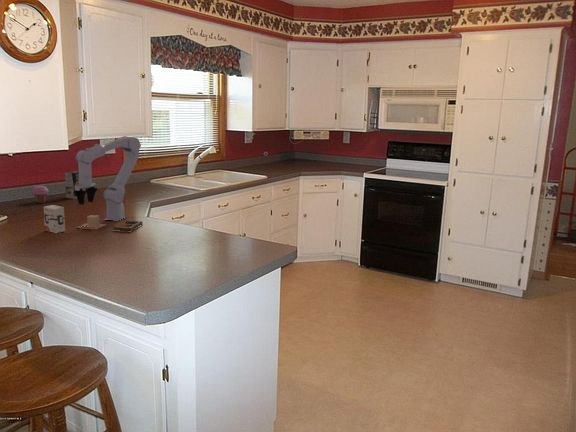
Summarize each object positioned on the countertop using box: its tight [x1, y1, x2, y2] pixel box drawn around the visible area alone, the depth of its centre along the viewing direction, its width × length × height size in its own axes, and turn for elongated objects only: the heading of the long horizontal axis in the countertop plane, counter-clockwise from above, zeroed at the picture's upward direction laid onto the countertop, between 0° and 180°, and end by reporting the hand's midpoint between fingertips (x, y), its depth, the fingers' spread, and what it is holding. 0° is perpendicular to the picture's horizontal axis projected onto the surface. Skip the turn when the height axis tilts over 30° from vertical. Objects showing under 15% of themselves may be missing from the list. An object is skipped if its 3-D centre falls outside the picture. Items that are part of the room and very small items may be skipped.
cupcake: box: [31, 185, 50, 204], centre depth 278 cm, size 9×9×10 cm
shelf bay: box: [112, 220, 143, 231], centre depth 229 cm, size 14×8×2 cm, turn 174°
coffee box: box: [64, 170, 79, 200], centre depth 297 cm, size 9×6×16 cm
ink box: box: [43, 204, 66, 234], centre depth 216 cm, size 8×5×12 cm, turn 60°
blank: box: [86, 214, 101, 228], centre depth 227 cm, size 4×4×5 cm
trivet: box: [77, 222, 107, 230], centre depth 228 cm, size 10×10×1 cm
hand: (86, 203), depth 232 cm, fingers open, 7 cm apart
